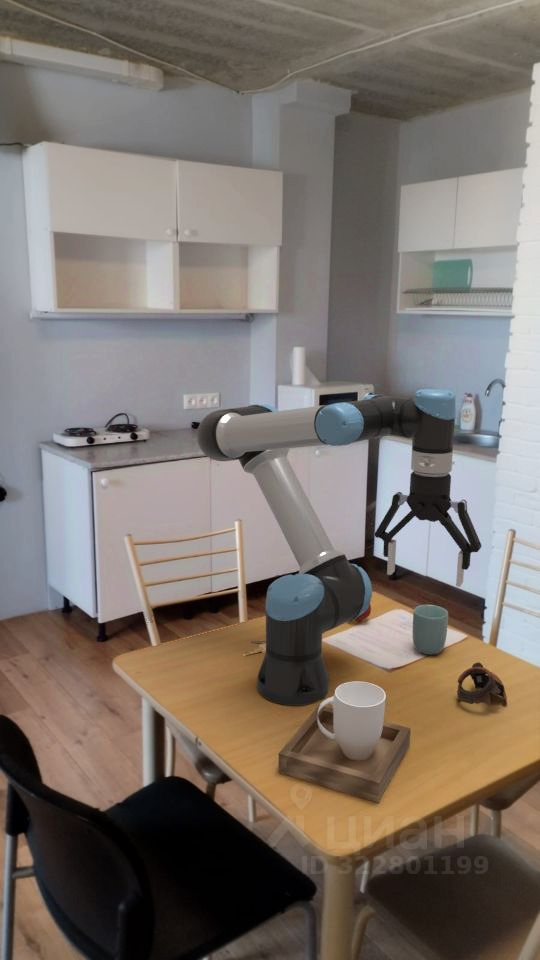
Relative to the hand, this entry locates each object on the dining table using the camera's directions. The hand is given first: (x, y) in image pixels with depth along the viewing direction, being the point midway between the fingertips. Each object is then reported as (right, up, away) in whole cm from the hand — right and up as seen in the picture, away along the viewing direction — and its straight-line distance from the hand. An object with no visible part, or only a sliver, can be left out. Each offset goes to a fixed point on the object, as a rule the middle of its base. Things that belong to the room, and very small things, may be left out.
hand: (424, 578), depth 148 cm
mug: (-16, -29, -13) cm, 36 cm away
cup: (+7, -21, +29) cm, 36 cm away
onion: (-8, -17, +44) cm, 48 cm away
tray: (-17, -30, -13) cm, 37 cm away
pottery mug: (+13, -26, +8) cm, 30 cm away
